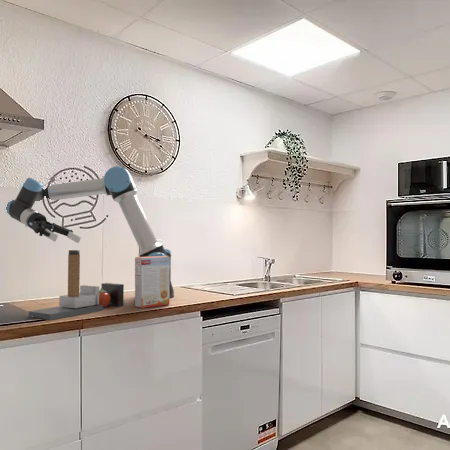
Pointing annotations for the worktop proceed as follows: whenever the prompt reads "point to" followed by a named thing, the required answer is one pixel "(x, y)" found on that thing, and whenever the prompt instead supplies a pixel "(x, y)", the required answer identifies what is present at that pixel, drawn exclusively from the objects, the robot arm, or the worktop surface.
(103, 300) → the tomato
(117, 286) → the press bench
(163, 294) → the cracker box
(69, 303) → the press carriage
